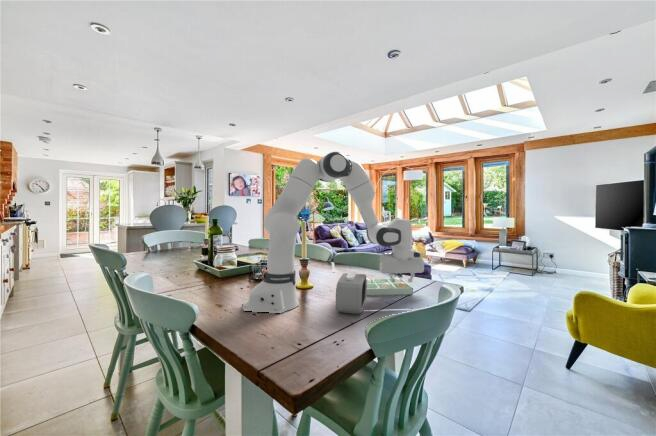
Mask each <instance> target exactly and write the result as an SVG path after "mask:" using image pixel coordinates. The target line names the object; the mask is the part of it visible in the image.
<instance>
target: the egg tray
mask: <svg viewBox="0 0 656 436" xmlns="http://www.w3.org/2000/svg"><path fill="white" fill-rule="evenodd" d="M369 279H370V281H371V283H370V284H367V294H366V296H396V295H397V296H399V295H400V296H401V295H414V288H413V286H411V285H410V284H409V282H408V281H406V280H405V279H403V278H399V279H400V280H401V282H404V283H405V284H406V286H407V288H397V285H398V283H391V278H369ZM385 282H386V283H389V284H390V287H391V288H381V285H382V283H385Z"/></svg>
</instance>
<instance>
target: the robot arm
mask: <svg viewBox="0 0 656 436" xmlns="http://www.w3.org/2000/svg"><path fill="white" fill-rule="evenodd" d="M336 180H339V181H341V182H342V183H343V184H344V185H345V188H346V190H347V192H348V194H349V196H350V197H351V200H352V201H353V202H354V204H355V206H356V207H357V209H358V211H359V213H360V216H361V218H362V220H363V222H364V225H365V228H366V229H365V230H366V231H365V232H366V238H367V240H368V241H369V243H371V244H373V245H377V246H380V247H383V248H388V247H391V252H387V253H386V252H383V253H381V254H380V255H379V262H380V263H379V271H380V273H382V274H388V277H389V279H391V283H394V282H395V279H394V278H395V277H393V274H410V276H409V277H408V278H407V279H408V281H407V283H413V279H414V277H415V276H416V275H415V274H418V273H419V274H421V273H422V274H423V272H424V271H425V262H424V259H423V258H422V257H423V253H422V252H420V251H418V250H416V249H413V245H412V238H413V229H412V228H413V227H412V222H411V221H410V220H409V219H406V218H401V217H395V218H394V219H392V220H391V221H390V222H388V223H385V224H382V223H381V222H380V221H379V220H378V218H377V216H376V213H375V211H374V209H373V206H372V205H373V200H374V198H375V194H376V192H375V189H374V185H373V183H372V180H371V179H370V177H369V175H368V173H367V171H366V170H365V169H364V167H363V166H362V165H361V163H360V162H359V161H356V160H351V159H349V158H348V157H347V156H346V155H345V154H344V153H342V152H340V151H330V152H329V153H328V154H326V155H324V156H322V157H321V158H320V159H319V160H314V159H313V158H310V157H305V158H302V159H301V160H300V161H299V162H298V163H297V164H296V166H295V167H294V169H293V170H292V172H291V174H290V175H289V177H288V180H287V182H286V183H285V185H284V187H283V189H282V190H281V193H280V194H279V196H278V197H277V198H276V200H275V201H274V203H273V205H272V206H271V208H270V209H269V211H268V212H267V214H266V215H265V217H264V219H263V227H264V230H265V231H266V233H268V235H269V241H268V242H269V243H268V247H267V252H266V263H267V264H266V265H267V266H266V267H267V269H265V270H263V272H262V277H261V279H262V281H260V282H259V283H258V284H257V285H255V287H253V288H252V289H251V290H250V292H249V295H248V299H247V300H246V301H244V303H243V305H242V311H243V310H244V311H252V312H251V313H257V312H269V313H268V314H275V313H280V314H282V313H284V312H286V311H289V310H293V309H295V308H297V307H298V306H299V304H300V303H299V299H298V296H297V289H296V283H297V273H296V270H295V252H296V250H295V249H296V245H297V244H296V243H297V239H298V238H297V237H298V234H299V231H300V228H301V227H300V221H299V220H298V217H297V216H298V214H299V213H300V212H301V211H302V209H304V208H305V206H306V204H307V203H308V201H309V198H310V196H311V195H312V193H313V191H314V188H315V187H316V184H317V182H318V181H320V182H325V183H328V182H329V183H330V182H332V181H336ZM244 311H243V312H244Z"/></svg>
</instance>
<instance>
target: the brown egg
mask: <svg viewBox="0 0 656 436" xmlns="http://www.w3.org/2000/svg"><path fill="white" fill-rule="evenodd" d="M397 288H407V286H406V284H405V283H404V282H400V283H398V285H397Z"/></svg>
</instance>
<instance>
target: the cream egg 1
mask: <svg viewBox="0 0 656 436" xmlns="http://www.w3.org/2000/svg"><path fill="white" fill-rule="evenodd" d="M381 288H391V287H390V284H389V283H386V282H385V283H382V285H381Z"/></svg>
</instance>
